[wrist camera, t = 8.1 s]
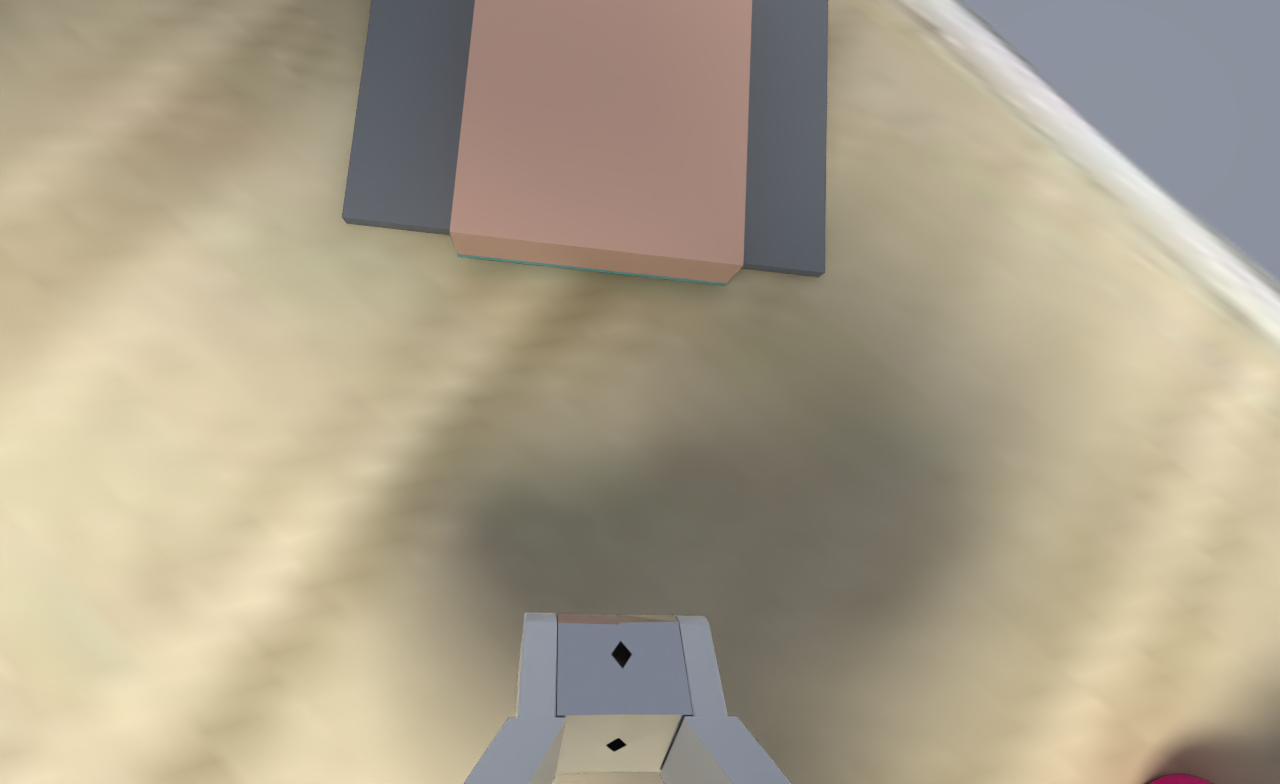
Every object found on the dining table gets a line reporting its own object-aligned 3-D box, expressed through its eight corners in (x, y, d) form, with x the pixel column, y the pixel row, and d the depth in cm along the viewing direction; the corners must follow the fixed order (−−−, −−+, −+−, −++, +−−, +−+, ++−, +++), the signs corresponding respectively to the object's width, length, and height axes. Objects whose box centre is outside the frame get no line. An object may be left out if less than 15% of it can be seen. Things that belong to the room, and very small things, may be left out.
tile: (743, 265, 24) (754, -53, 27) (449, 231, 23) (486, -105, 25) (724, 285, 27) (735, -8, 29) (458, 256, 25) (491, -52, 28)
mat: (818, 276, 28) (824, 272, 28) (346, 223, 25) (341, 217, 25) (823, -39, 31) (828, -49, 30) (393, -121, 28) (390, -134, 27)
